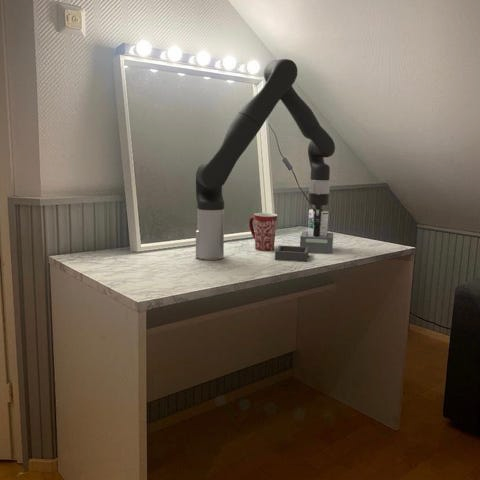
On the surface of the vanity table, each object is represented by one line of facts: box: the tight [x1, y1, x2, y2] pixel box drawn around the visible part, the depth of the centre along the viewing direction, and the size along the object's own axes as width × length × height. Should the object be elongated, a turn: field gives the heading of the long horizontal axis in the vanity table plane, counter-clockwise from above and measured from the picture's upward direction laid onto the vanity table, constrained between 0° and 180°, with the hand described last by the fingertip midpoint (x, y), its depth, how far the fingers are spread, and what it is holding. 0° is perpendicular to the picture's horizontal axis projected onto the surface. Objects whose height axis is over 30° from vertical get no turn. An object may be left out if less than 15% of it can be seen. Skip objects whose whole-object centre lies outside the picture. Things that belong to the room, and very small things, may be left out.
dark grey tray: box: [274, 245, 309, 263], centre depth 176 cm, size 11×11×3 cm
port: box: [299, 230, 334, 255], centre depth 189 cm, size 12×12×6 cm
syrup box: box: [307, 208, 330, 237], centre depth 189 cm, size 6×6×14 cm
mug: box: [248, 212, 279, 252], centre depth 190 cm, size 13×9×14 cm
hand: (317, 234), depth 189 cm, fingers closed on syrup box, 8 cm apart
